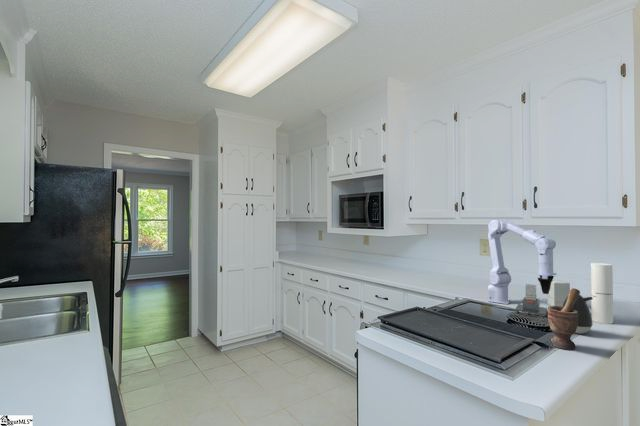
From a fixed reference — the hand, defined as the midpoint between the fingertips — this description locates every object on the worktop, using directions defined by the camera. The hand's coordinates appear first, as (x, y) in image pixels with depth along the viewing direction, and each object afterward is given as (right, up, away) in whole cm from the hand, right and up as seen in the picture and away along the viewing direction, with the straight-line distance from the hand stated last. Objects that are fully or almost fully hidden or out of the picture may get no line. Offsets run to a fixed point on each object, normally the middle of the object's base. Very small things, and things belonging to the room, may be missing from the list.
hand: (546, 292), depth 154 cm
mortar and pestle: (-19, -10, -37) cm, 43 cm away
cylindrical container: (+17, -10, -11) cm, 23 cm away
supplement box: (+15, -11, +13) cm, 23 cm away
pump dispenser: (-4, -10, -23) cm, 26 cm away
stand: (-5, -10, +4) cm, 12 cm away
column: (-5, -6, +4) cm, 8 cm away
